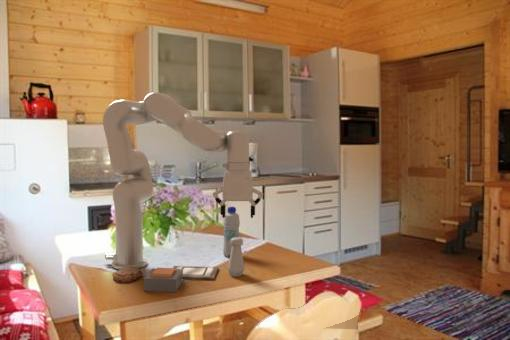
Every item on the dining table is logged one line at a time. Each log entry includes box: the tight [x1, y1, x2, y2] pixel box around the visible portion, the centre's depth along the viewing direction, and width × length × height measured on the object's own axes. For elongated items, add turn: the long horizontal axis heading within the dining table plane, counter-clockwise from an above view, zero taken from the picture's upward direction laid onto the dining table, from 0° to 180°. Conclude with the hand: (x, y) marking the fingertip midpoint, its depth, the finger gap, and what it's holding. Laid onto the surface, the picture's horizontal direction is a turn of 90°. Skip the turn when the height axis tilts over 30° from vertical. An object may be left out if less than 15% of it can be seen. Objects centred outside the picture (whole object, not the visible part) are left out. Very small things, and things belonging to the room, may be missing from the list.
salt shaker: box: [227, 237, 245, 278], centre depth 150 cm, size 6×6×13 cm
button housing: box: [143, 268, 184, 293], centre depth 138 cm, size 10×10×4 cm
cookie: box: [112, 267, 144, 284], centre depth 146 cm, size 10×11×3 cm
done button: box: [152, 267, 176, 277], centre depth 138 cm, size 6×6×3 cm
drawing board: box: [172, 265, 219, 281], centre depth 151 cm, size 16×12×1 cm
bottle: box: [222, 206, 241, 258], centre depth 174 cm, size 7×7×20 cm
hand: (237, 217), depth 149 cm, fingers open, 9 cm apart
